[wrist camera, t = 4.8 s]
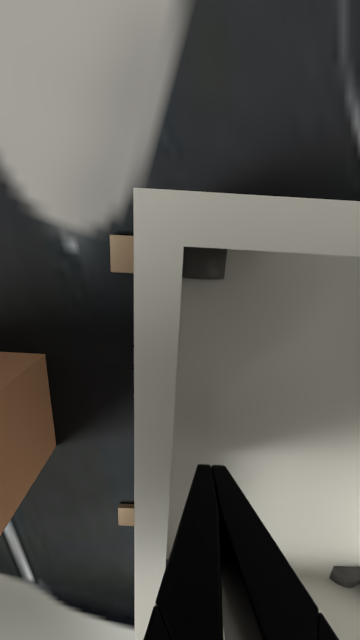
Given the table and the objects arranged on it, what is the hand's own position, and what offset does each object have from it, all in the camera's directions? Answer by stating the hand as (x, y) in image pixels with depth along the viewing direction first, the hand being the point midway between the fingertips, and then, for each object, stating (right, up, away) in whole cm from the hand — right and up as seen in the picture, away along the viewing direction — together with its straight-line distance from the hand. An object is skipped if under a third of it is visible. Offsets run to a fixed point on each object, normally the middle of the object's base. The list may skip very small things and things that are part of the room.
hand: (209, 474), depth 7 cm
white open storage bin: (+3, +1, +3) cm, 4 cm away
